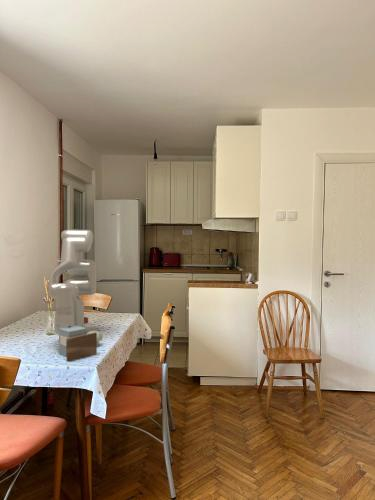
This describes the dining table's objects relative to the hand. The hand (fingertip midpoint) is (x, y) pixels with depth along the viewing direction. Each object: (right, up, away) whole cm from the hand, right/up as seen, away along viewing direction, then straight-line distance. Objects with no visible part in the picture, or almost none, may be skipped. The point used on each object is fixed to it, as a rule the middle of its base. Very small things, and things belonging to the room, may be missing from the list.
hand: (64, 348), depth 178 cm
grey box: (+6, -1, -5) cm, 8 cm away
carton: (-14, 0, +62) cm, 63 cm away
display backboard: (+12, -1, -10) cm, 16 cm away
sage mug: (+13, -1, +9) cm, 16 cm away
